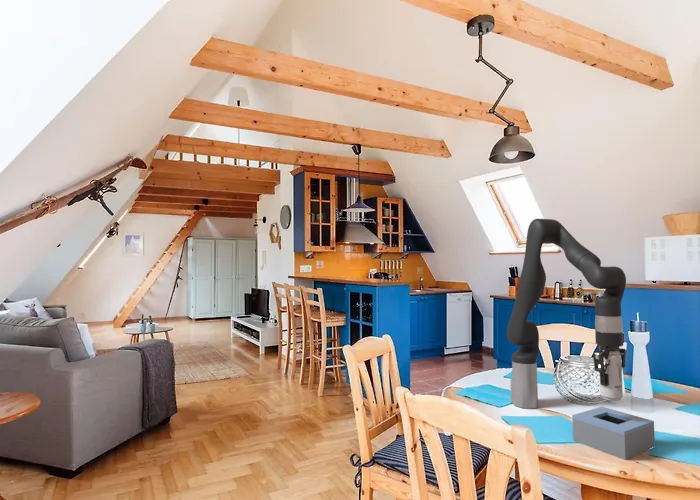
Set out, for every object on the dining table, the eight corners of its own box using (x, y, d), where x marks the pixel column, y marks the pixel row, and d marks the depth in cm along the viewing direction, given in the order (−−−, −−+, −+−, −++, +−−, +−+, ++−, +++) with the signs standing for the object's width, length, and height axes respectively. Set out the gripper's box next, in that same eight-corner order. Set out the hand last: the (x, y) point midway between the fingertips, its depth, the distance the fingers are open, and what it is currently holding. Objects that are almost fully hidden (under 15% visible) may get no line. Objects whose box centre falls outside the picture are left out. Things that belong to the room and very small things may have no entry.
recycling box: (573, 440, 138) (572, 415, 138) (602, 430, 146) (601, 406, 146) (625, 459, 124) (624, 431, 125) (655, 447, 132) (653, 421, 132)
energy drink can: (621, 402, 131) (619, 352, 132) (598, 398, 135) (596, 350, 136) (624, 397, 136) (622, 349, 137) (602, 394, 140) (600, 347, 140)
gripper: (610, 326, 143) (611, 377, 143) (583, 330, 136) (585, 384, 136) (634, 329, 137) (636, 383, 136) (607, 333, 130) (609, 390, 129)
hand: (610, 383), depth 136 cm, fingers closed on energy drink can, 6 cm apart
